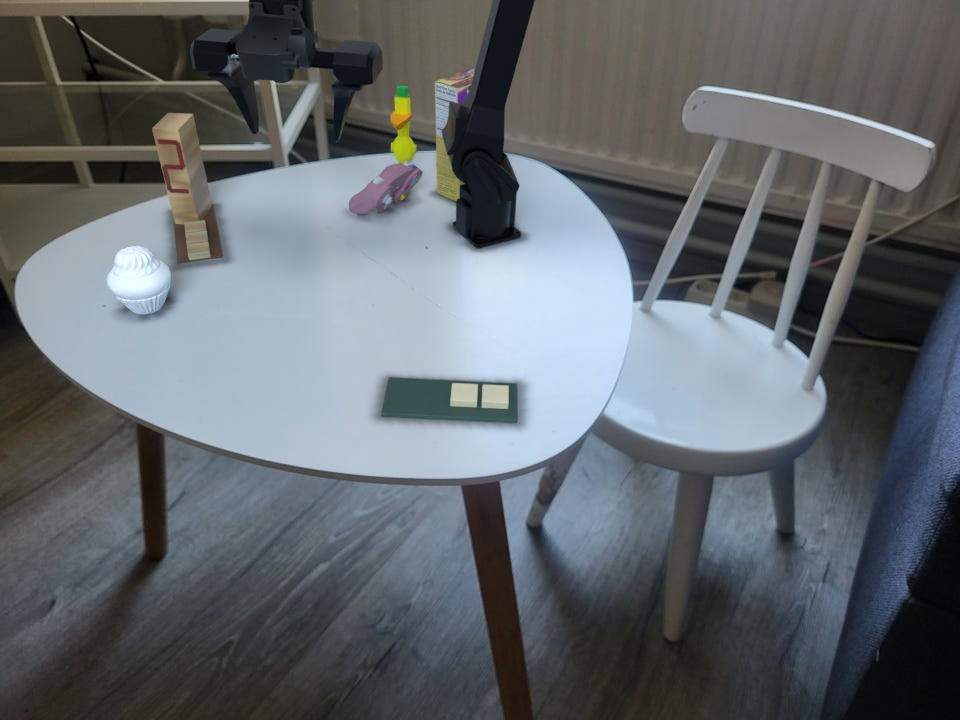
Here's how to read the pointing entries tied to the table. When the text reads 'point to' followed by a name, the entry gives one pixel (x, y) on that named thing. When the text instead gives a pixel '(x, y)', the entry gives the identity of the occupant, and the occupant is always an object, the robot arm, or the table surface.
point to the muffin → (139, 280)
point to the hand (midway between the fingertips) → (296, 136)
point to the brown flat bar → (198, 239)
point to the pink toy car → (386, 188)
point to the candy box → (445, 92)
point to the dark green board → (450, 400)
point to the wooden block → (182, 167)
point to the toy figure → (402, 126)
